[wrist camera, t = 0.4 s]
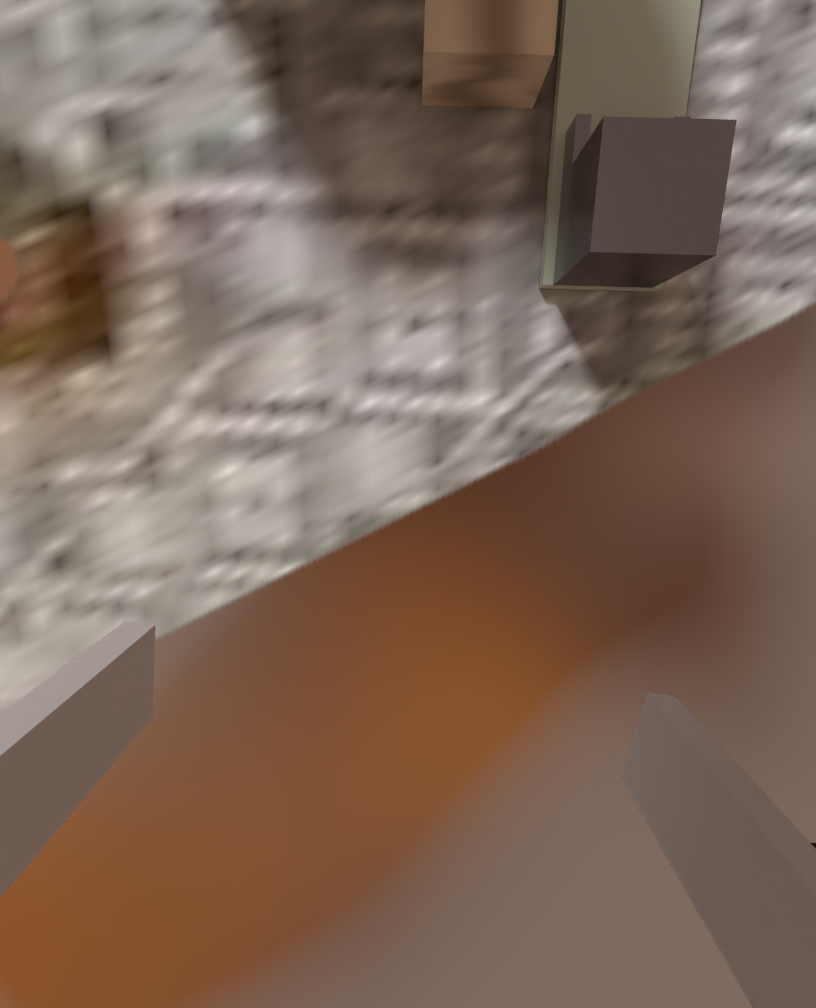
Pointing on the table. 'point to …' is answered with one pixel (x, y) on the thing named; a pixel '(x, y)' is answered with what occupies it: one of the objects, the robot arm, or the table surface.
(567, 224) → the cap
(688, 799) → the robot arm
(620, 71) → the board
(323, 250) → the table surface
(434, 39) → the brown block
